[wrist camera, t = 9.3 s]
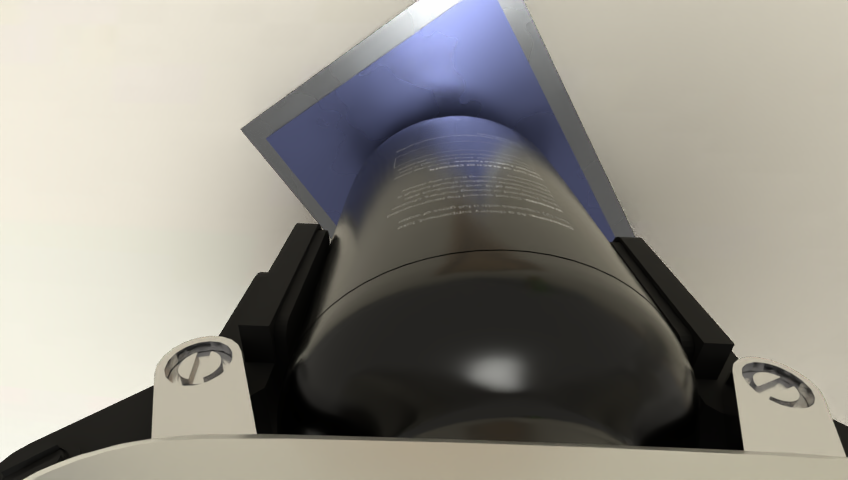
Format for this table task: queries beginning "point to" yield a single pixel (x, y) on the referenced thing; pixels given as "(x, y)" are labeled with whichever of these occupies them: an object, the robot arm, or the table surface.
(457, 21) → the ink pad
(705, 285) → the table surface
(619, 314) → the supplement bottle
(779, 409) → the robot arm
